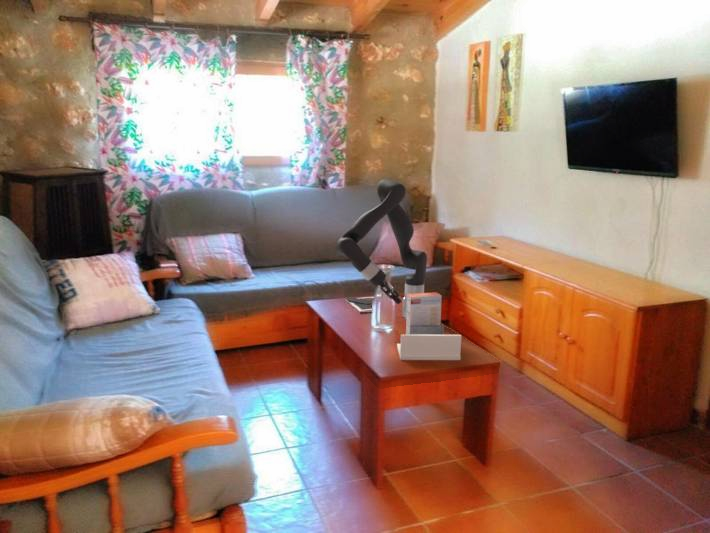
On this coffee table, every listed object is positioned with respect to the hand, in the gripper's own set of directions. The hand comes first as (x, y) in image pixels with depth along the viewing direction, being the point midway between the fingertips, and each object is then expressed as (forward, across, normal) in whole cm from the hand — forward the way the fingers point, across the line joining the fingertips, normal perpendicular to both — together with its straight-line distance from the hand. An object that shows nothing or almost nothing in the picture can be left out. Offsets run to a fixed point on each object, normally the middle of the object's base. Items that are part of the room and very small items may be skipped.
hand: (398, 299), depth 250 cm
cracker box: (+21, 0, +5) cm, 21 cm away
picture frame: (+6, +48, +22) cm, 53 cm away
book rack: (+21, -15, +5) cm, 26 cm away
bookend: (+20, -10, +4) cm, 22 cm away
